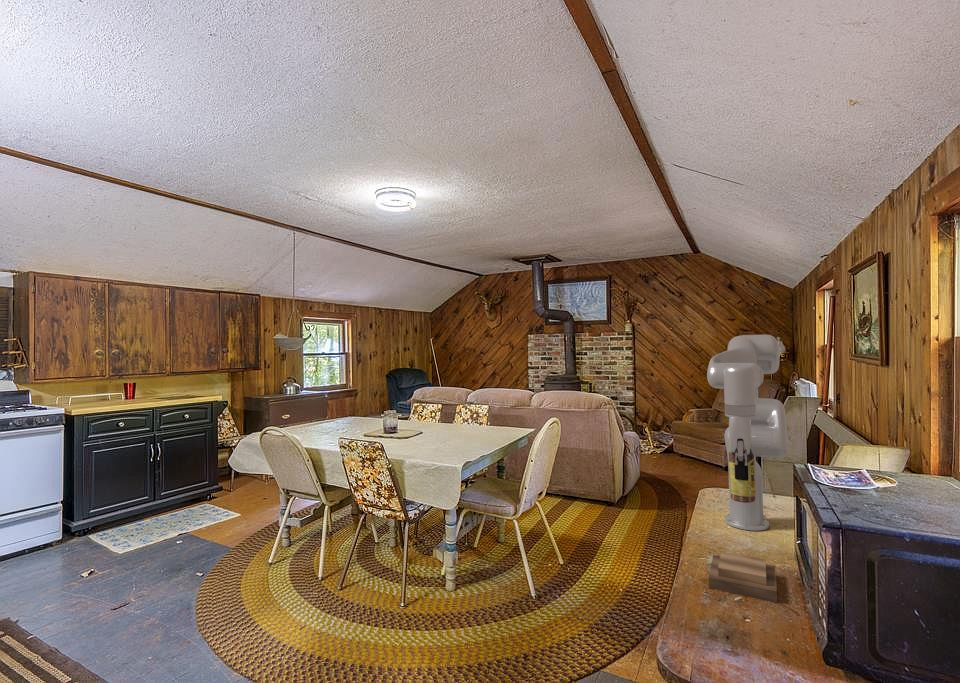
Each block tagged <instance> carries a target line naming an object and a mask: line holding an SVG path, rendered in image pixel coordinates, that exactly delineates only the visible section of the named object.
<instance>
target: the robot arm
mask: <svg viewBox="0 0 960 683" xmlns="http://www.w3.org/2000/svg"><path fill="white" fill-rule="evenodd" d="M779 367H780V345H779V342H778V340H777V338H776V337H775V336H773V335H772V334H745V335H744V334H742V335H737V336H734V337H732V338H731V339H730V340H729V342H728V344H727V350H725V351H722V352H720V353H717V354H715V355H714V356H712V357H711V358H710V360H709V363H708V366H707V372H706V379H707V382H708V384H709V386H711V387H712V388H714V389H719V390H720V389H721V390H723V396H724V398H723V399H724V416H725V417H727V418H729V419H728V427H727V428H726V429H725V431H724V435H723V436H724V437H723V438H724V443H725V444H724V445H725V448H726V454H727V455H726V456H727V464H728V466H727V467H728V472H727V473H729V452H730V453H731V454H732V452H733V453H734V452H735V479H737V480H746V481H748V479H749V477H748V465H747V455H748V454H750V448H751V450H752V453H753V455H754V457H761V458H762V457H764V458H774V459H775V458H784V457H785V456H787V453H788V451H789V437H788V425H787V415H786V414H787V413H786V408H785V406H784V404H783V402H781V401H780V400H779V399H776V398H775V399H774V398H762V397H761V398H760V397H759V389H758V388H759V387H760V386H761V385H762V384H763V383H764V377H765V376H764V375H773V374H775V373H777V372H778V371H779ZM743 442H744V445H743ZM737 451H738V453H737ZM743 452H745V453H743ZM743 456H745V458H744V457H743ZM754 461H755V486H756V495H755V501H754V502H750V503H743V502H737V501H734V500H733V499H731V493H730V479H729V478H728V495H729V496H728V501H729V514H726V515H724V522H725V523H726V524H727V525H729V526H731V527H733V528H736V529H739V530H745V531H752V532H753V531H757V532H759V531H760V532H761V531H765V530H767V529H769V528H770V522H769V521H768V520H767V519H765V518H764V490H763V489H764V488H763V471H762V467H761V465H760V464H759V463H758V462H757V461H756V460H755V459H754Z"/></svg>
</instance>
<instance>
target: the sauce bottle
mask: <svg viewBox="0 0 960 683" xmlns="http://www.w3.org/2000/svg"><path fill="white" fill-rule="evenodd" d="M743 445H744V442H743ZM737 453H738V451H737ZM743 453H745V452H743ZM743 457H744V458H745V456H743ZM754 460H755V456H754V455H753V453H752V450H751V448H750V454H748V455H747V465H748V477H749V479H748V481H746V480H737V479H735V452H734V453H733V452H732V454H731V453H730V452H729V472H728V480H729V479H730V493H731V499H733V500H734V501H737V502H743V503H750V502H754V501H755V495H756V486H755V461H756V460H755V461H754Z"/></svg>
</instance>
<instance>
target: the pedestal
mask: <svg viewBox="0 0 960 683" xmlns="http://www.w3.org/2000/svg"><path fill="white" fill-rule="evenodd" d="M776 575H777V573H776V566H775V565H773V564H768V563H766V559H765V558H759V557H755V556H754V557H753V556H748V555H742V554H735V553H732V552H724V551H720V555H718V554H717V555H715V554H713V555H712V560H711V565H710V570H709V575H708V589H710V588H711V589H712V590H715V589H717V590H716V591H719V590H721V591H720V592H724V593H725V592H726V593H731V594H733V595H734V594H735V595H740V596H744V597H749V598H752V599H757V600H758V599H759V600H763V601H767V602H772V603H778V594H777V593H778V592H777V591H778V590H777V576H776Z"/></svg>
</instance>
